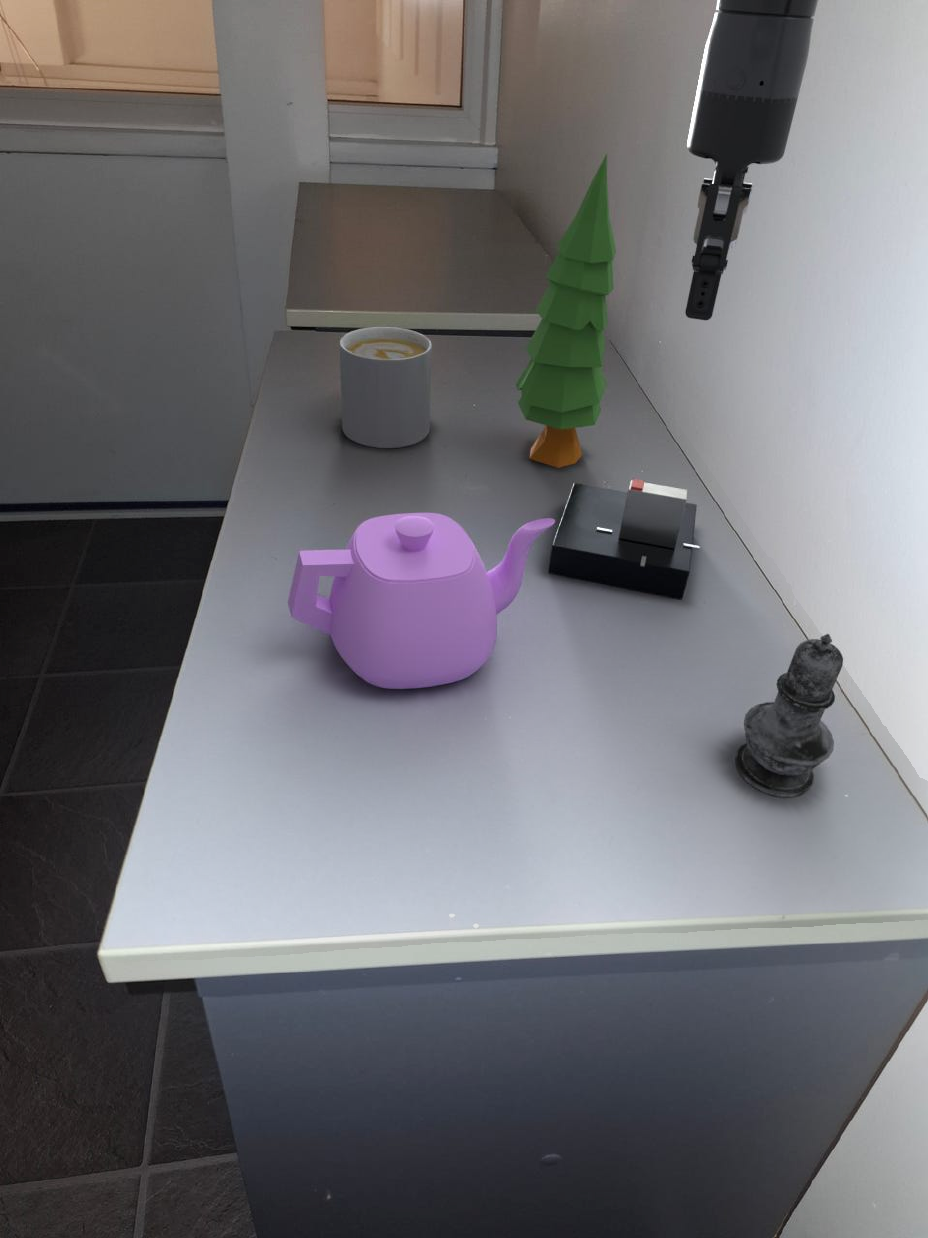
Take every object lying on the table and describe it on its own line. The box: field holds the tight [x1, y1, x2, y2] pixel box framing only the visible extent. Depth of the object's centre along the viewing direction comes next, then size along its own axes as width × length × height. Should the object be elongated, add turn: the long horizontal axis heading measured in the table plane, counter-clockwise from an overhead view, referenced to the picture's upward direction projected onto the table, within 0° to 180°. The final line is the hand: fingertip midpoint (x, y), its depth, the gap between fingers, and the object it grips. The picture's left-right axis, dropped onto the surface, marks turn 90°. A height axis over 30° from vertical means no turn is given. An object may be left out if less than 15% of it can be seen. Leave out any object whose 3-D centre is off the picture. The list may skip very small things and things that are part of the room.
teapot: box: [287, 512, 556, 690], centre depth 65 cm, size 13×20×11 cm, turn 104°
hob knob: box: [619, 478, 689, 549], centre depth 75 cm, size 5×2×5 cm, turn 75°
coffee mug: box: [339, 326, 433, 449], centre depth 96 cm, size 13×10×10 cm
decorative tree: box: [515, 153, 617, 469], centre depth 86 cm, size 10×9×30 cm
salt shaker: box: [734, 633, 844, 799], centre depth 56 cm, size 6×6×12 cm
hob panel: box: [548, 482, 701, 600], centre depth 79 cm, size 13×13×3 cm
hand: (701, 303), depth 75 cm, fingers open, 8 cm apart
